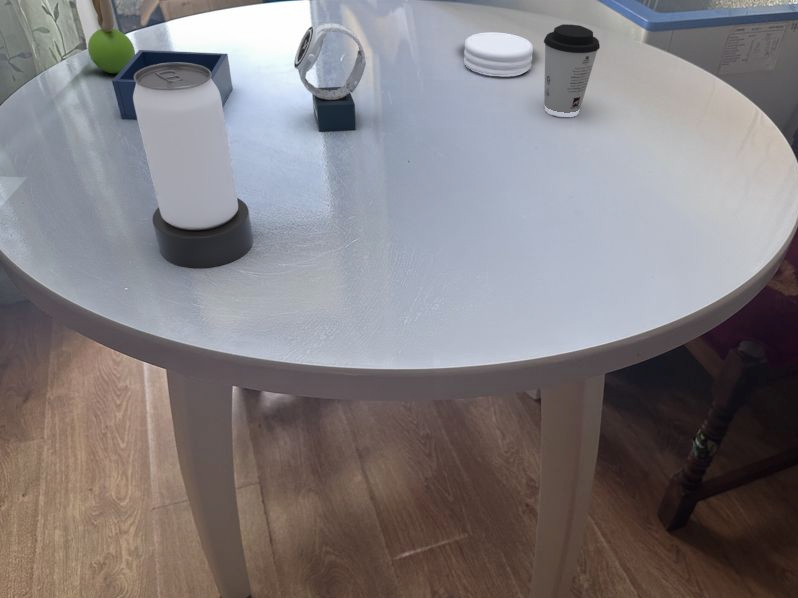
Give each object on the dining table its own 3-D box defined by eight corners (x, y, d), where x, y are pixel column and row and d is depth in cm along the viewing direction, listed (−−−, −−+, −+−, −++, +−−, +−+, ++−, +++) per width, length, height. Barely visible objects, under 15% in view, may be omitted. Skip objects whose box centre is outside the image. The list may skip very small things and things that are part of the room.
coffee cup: (591, 123, 91) (606, 41, 84) (537, 120, 90) (548, 37, 84) (584, 102, 96) (597, 24, 90) (532, 99, 96) (542, 20, 89)
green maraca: (103, 84, 90) (76, -19, 83) (89, 68, 94) (62, -32, 86) (147, 78, 93) (124, -23, 85) (132, 62, 97) (109, -36, 89)
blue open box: (121, 118, 83) (111, 80, 80) (147, 85, 91) (139, 49, 88) (215, 122, 84) (209, 84, 81) (232, 88, 92) (227, 53, 89)
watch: (297, 114, 87) (288, 18, 80) (362, 110, 89) (359, 17, 82) (302, 132, 83) (293, 34, 76) (370, 129, 85) (368, 32, 78)
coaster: (510, 84, 100) (513, 58, 97) (450, 67, 103) (451, 42, 101) (542, 65, 106) (545, 41, 104) (485, 50, 110) (487, 26, 108)
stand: (148, 267, 61) (140, 237, 59) (172, 219, 67) (165, 190, 65) (244, 269, 61) (239, 239, 59) (259, 221, 67) (255, 193, 66)
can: (179, 240, 59) (146, 96, 51) (149, 208, 62) (114, 68, 55) (252, 219, 62) (231, 80, 54) (219, 189, 66) (195, 55, 58)
